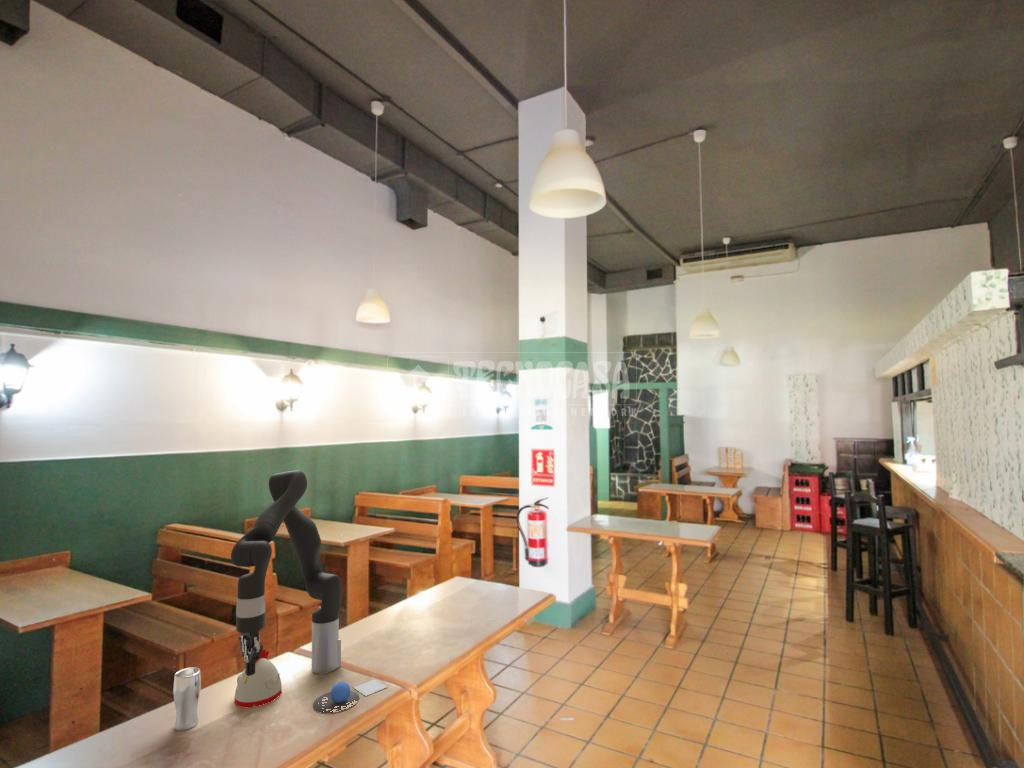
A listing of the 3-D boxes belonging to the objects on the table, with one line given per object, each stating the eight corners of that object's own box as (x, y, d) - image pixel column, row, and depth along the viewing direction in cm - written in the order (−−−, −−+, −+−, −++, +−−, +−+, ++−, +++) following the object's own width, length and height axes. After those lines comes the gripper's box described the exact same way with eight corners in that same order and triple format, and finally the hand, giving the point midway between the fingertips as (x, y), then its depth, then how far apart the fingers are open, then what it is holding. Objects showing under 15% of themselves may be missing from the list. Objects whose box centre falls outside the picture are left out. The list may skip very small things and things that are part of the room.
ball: (330, 679, 170) (325, 700, 169) (336, 686, 166) (332, 707, 164) (348, 678, 174) (344, 698, 173) (355, 684, 169) (351, 705, 168)
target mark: (346, 686, 179) (346, 685, 179) (367, 701, 169) (367, 700, 169) (305, 702, 169) (305, 701, 170) (325, 718, 160) (325, 718, 160)
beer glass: (180, 734, 153) (181, 680, 154) (167, 727, 157) (169, 674, 158) (204, 722, 159) (205, 670, 160) (192, 716, 163) (193, 665, 164)
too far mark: (375, 679, 183) (375, 679, 183) (387, 687, 178) (387, 687, 178) (353, 688, 178) (353, 687, 178) (365, 696, 172) (365, 695, 172)
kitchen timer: (224, 704, 169) (225, 655, 170) (256, 683, 183) (257, 638, 184) (260, 710, 165) (260, 660, 166) (290, 688, 178) (291, 642, 180)
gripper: (273, 614, 152) (272, 677, 150) (256, 603, 161) (255, 662, 160) (244, 621, 146) (244, 687, 145) (229, 609, 156) (228, 671, 155)
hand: (250, 674), depth 152 cm, fingers closed
